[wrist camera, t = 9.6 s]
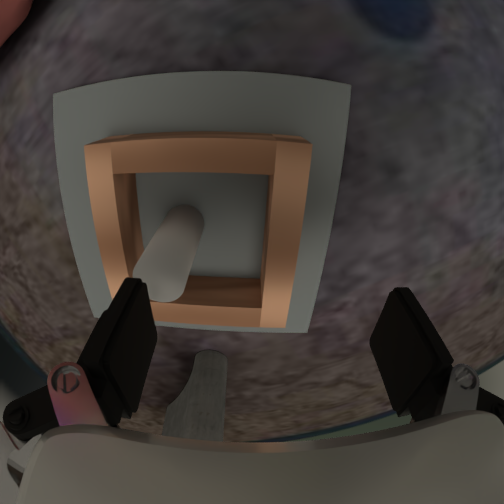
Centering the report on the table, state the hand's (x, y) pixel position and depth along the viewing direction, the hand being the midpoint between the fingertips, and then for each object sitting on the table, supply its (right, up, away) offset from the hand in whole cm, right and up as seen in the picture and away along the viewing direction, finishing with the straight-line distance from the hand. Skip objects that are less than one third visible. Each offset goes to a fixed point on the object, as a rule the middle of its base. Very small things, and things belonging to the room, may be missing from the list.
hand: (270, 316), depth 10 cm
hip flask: (-7, -13, +19) cm, 24 cm away
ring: (-4, +4, +7) cm, 9 cm away
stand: (-5, +5, +8) cm, 10 cm away
